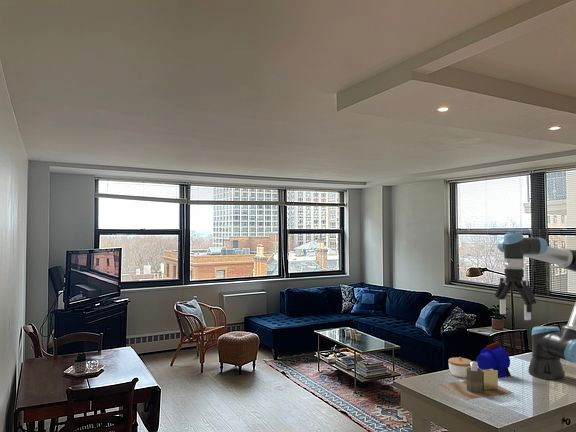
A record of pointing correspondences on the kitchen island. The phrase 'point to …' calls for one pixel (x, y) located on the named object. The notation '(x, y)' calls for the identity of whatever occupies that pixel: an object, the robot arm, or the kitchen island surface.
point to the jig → (474, 386)
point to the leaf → (490, 380)
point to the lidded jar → (459, 366)
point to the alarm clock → (494, 359)
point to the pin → (474, 365)
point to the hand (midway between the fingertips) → (514, 316)
